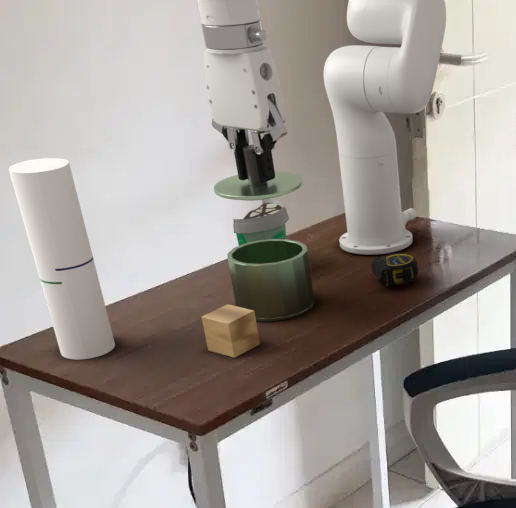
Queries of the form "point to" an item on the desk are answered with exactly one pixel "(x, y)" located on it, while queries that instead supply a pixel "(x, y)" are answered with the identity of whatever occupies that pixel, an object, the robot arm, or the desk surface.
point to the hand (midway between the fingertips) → (257, 178)
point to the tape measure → (395, 269)
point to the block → (231, 330)
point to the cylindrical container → (63, 256)
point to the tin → (272, 278)
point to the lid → (256, 183)
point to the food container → (262, 223)
